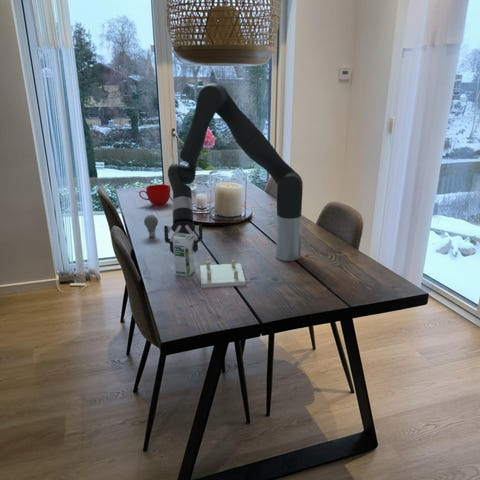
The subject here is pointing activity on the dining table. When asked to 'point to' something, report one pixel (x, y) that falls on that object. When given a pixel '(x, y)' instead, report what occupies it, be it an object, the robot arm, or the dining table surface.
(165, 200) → the ceramic cup
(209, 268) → the pin plate
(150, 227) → the light bulb
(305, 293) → the dining table surface
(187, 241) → the syrup box
